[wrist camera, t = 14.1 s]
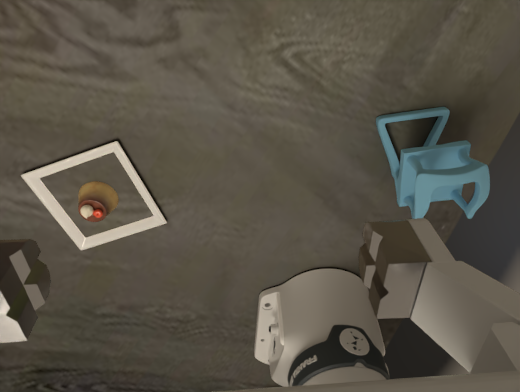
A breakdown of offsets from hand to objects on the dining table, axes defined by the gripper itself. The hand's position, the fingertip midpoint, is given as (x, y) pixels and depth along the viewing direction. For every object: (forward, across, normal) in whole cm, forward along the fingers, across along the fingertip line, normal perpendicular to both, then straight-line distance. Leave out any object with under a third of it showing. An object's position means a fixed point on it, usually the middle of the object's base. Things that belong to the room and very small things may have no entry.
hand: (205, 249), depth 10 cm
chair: (+33, -20, +15) cm, 42 cm away
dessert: (+34, +16, +20) cm, 43 cm away
